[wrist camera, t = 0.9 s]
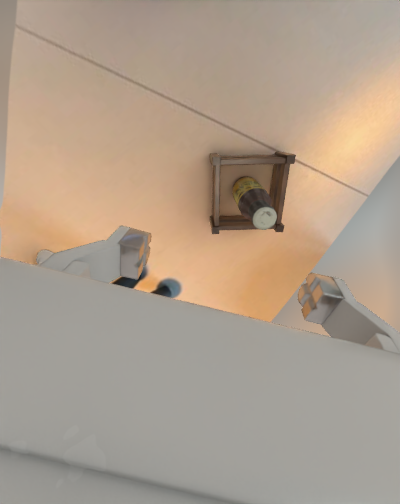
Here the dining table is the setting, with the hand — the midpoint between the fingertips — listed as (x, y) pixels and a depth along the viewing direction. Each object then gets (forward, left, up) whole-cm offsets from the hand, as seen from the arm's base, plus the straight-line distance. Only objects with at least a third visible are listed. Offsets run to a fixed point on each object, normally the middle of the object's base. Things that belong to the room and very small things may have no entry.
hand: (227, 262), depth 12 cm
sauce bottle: (+7, +10, -45) cm, 47 cm away
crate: (+7, +10, -45) cm, 47 cm away
